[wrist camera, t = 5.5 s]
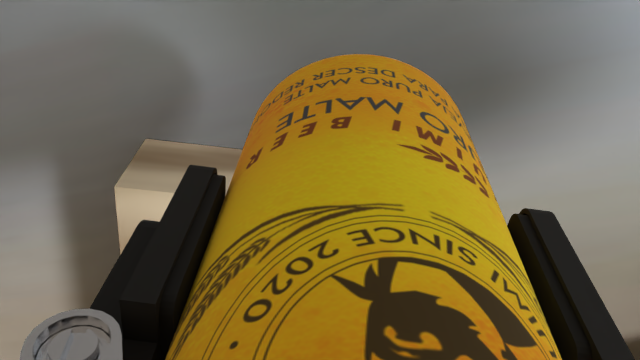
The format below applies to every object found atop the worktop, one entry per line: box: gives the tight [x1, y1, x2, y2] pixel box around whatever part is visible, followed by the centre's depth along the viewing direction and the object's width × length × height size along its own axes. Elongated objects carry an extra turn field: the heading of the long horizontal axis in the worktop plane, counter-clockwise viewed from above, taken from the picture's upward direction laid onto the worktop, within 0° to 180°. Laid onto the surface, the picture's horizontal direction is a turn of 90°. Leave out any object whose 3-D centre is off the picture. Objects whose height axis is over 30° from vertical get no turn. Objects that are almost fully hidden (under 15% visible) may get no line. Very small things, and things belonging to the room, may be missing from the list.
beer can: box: [165, 54, 562, 360], centre depth 9 cm, size 6×6×15 cm
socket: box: [114, 139, 242, 255], centre depth 28 cm, size 16×12×4 cm
